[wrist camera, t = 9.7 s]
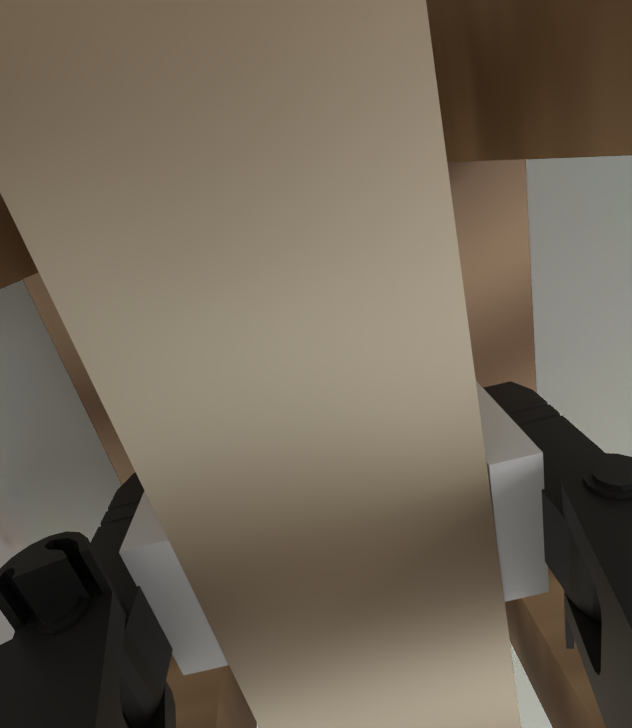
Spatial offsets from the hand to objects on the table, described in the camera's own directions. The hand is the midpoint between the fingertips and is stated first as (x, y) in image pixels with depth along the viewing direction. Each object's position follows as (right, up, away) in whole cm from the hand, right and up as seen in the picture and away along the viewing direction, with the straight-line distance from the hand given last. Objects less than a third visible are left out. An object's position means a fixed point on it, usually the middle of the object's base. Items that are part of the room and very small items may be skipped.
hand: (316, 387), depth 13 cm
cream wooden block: (0, 0, +1) cm, 1 cm away
